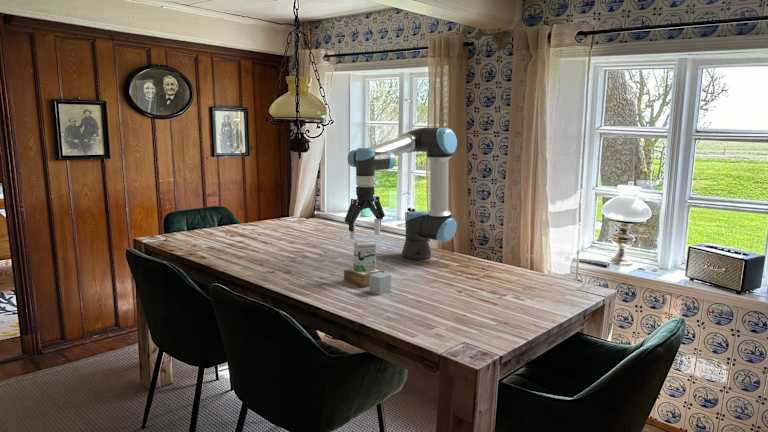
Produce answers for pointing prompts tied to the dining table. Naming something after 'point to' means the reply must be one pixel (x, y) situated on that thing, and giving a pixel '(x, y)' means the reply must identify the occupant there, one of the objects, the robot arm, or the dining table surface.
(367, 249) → the ink box
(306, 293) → the dining table surface
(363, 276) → the pedestal
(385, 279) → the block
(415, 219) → the robot arm
